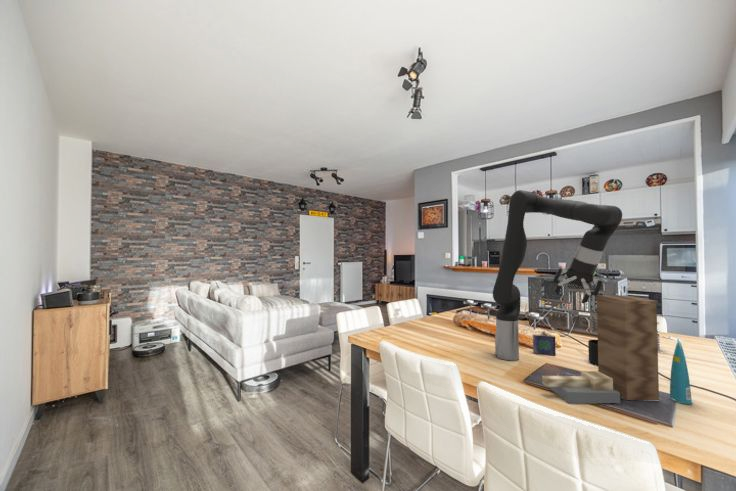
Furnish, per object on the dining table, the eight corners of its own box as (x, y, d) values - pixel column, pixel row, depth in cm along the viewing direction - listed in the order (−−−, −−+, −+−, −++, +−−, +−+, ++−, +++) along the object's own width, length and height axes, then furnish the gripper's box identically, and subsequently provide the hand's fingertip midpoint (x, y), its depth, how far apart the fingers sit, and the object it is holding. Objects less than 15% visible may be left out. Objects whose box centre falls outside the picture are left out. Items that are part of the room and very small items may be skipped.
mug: (629, 368, 121) (628, 345, 121) (600, 368, 121) (600, 346, 121) (609, 359, 130) (609, 339, 131) (583, 360, 130) (582, 339, 130)
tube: (668, 394, 98) (666, 336, 99) (689, 398, 95) (687, 339, 96) (671, 402, 93) (669, 341, 93) (694, 408, 90) (692, 344, 90)
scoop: (549, 389, 95) (549, 378, 95) (539, 380, 101) (539, 370, 101) (613, 389, 94) (612, 378, 94) (598, 381, 100) (598, 371, 100)
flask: (533, 354, 138) (533, 331, 138) (532, 352, 141) (532, 329, 141) (556, 356, 135) (556, 332, 135) (554, 354, 138) (554, 331, 138)
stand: (626, 401, 94) (624, 300, 94) (597, 383, 106) (595, 295, 107) (660, 401, 93) (658, 300, 94) (627, 384, 106) (625, 295, 107)
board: (568, 403, 92) (568, 392, 92) (549, 388, 102) (549, 378, 102) (620, 404, 92) (620, 392, 92) (596, 389, 102) (596, 379, 102)
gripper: (563, 255, 107) (548, 294, 112) (611, 268, 100) (592, 309, 105) (564, 250, 113) (549, 288, 118) (609, 263, 106) (591, 302, 111)
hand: (569, 298), depth 112 cm, fingers open, 8 cm apart
